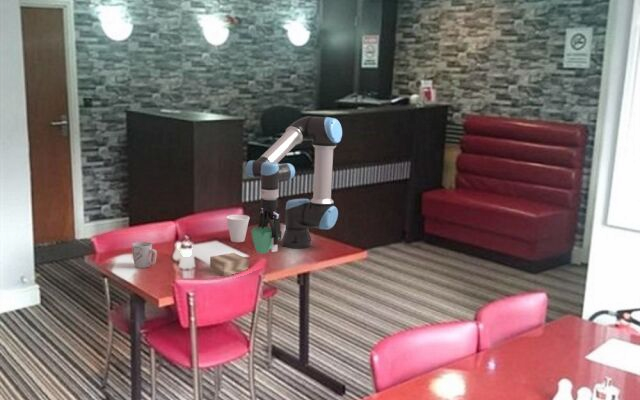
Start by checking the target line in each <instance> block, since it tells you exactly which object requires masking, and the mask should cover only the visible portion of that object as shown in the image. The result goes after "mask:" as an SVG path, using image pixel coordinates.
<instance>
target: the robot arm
mask: <svg viewBox="0 0 640 400" xmlns="http://www.w3.org/2000/svg"><path fill="white" fill-rule="evenodd" d="M342 137H343V128H342V125H341V123H340V121H339V120H338V119H337V118H334V117H329V116H327V117H324V116H314V115H313V116H311V115H309V116H304V117H301V118H299V119H297V120H295V121H294V122H292V123H291V124H290V125H289V126H288V127H286V129H285V132H284V134H282V135H281V137H280V138H279V139H277V140H276V141H275V142H274V143H273V144H272V145H271V146H270V147H269V148H268V149H267V150H266V151H265V152H264V153H263V154H262V155H261V156H260V157H259V158H258V159H257V160H254V159H253V160H248V162H247V163H246V165H245V174H246V175H247V176H248V177H251V178H254V179H260V197H261V198H260V208H258V223H257V224H258V225H257V226H258V227H262V229H263V228H264V227H268V224H269V226H270V228H271V231H272V237H271V249H270V252H271V253H274V252H278V246H279V244H278V243H279V242H278V237H280V236H281V245H282V247H285V248H288V249H289V248H290V249H305V248H309V247H311V246H312V236H311V234H310V231H309V228H315V229H320V230H330V229H332V228H333V227H334V226H335V224H336V222H337V220H338V216H339V211H338V208H337V207H336V206H335V205H334V204H335V203H334V200H333V199H332V181H333V164H334V163H333V160H334V149H335V148H336V147H337V144H338V143H340V142H341V140H342ZM303 141H312V147H313V148H314V149H315V153H314V174H313V192H312V193H313V194H312V195H313V196H312V198H311V199H308V198H294V199H289V200H287V201H286V203H285V204H286V205H285V208H284V209H285V226H284V228H285V229H284V233H283V235H282V233H281V231H282V230H281V214H280V213H277V208H278V207H279V183H283V182H287V181H290V180H292V179H293V178H294V177H295V175H296V169H295V166H294V165H293V164H291V163H288V162H287V163H285V162H284V163H279V162H280V161H281V160H283V158H285V156H286V155H287V154H289V152H291V150H292V149H293V148H295V146H297V145H299V144H301V143H302V142H303Z"/></svg>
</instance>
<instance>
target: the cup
mask: <svg viewBox="0 0 640 400" xmlns="http://www.w3.org/2000/svg"><path fill="white" fill-rule="evenodd" d="M225 217H226V222H227V227H228V232H229V237H230V241H231V242H233V243H242V242H245V239H246V236H247V235H246V234H247V232H248V231H247V230H248V225H249V221H250V216H249V215H246V214H230V215H226V216H225Z"/></svg>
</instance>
